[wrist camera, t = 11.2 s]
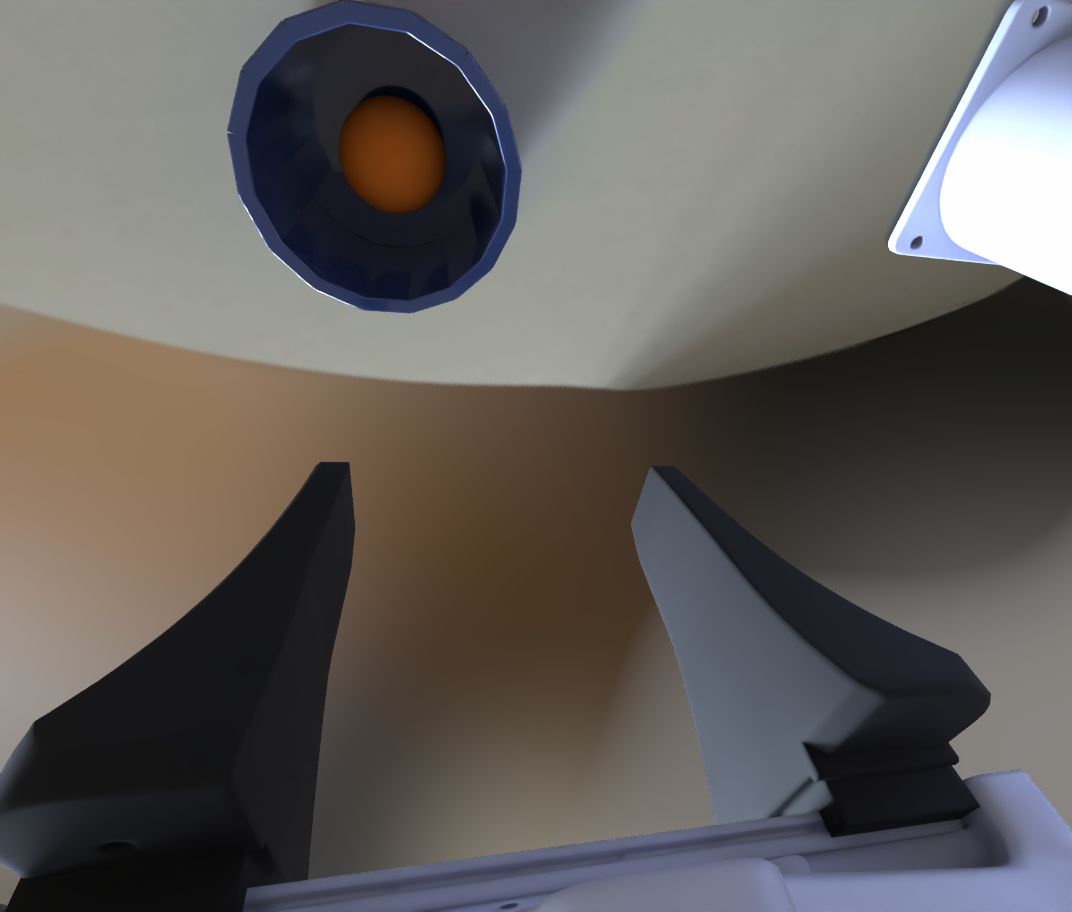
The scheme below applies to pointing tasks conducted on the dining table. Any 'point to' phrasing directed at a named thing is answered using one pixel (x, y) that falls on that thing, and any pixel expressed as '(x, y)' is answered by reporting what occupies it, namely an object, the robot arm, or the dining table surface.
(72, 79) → the dining table surface
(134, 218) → the dining table surface
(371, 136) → the ball
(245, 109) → the blue cup
